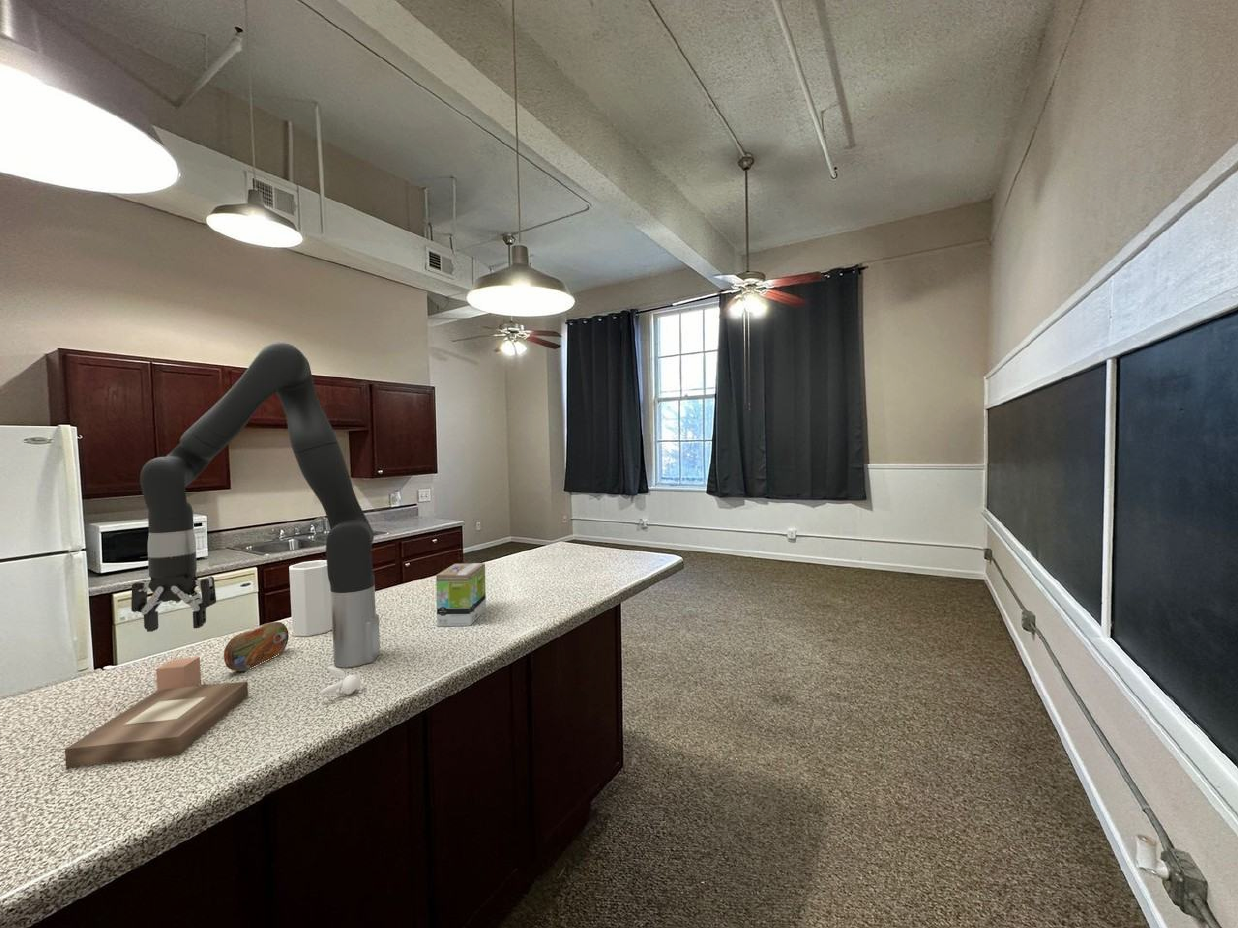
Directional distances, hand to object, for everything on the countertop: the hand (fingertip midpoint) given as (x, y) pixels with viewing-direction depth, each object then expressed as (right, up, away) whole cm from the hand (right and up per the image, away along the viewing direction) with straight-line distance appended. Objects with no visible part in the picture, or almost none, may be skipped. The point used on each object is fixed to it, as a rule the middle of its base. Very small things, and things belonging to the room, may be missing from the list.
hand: (175, 628), depth 105 cm
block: (+1, -13, 0) cm, 13 cm away
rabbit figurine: (+37, -12, -4) cm, 39 cm away
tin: (+7, -13, +14) cm, 20 cm away
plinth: (+11, -13, -14) cm, 22 cm away
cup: (+8, -12, +35) cm, 38 cm away
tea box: (+47, -11, +42) cm, 64 cm away
